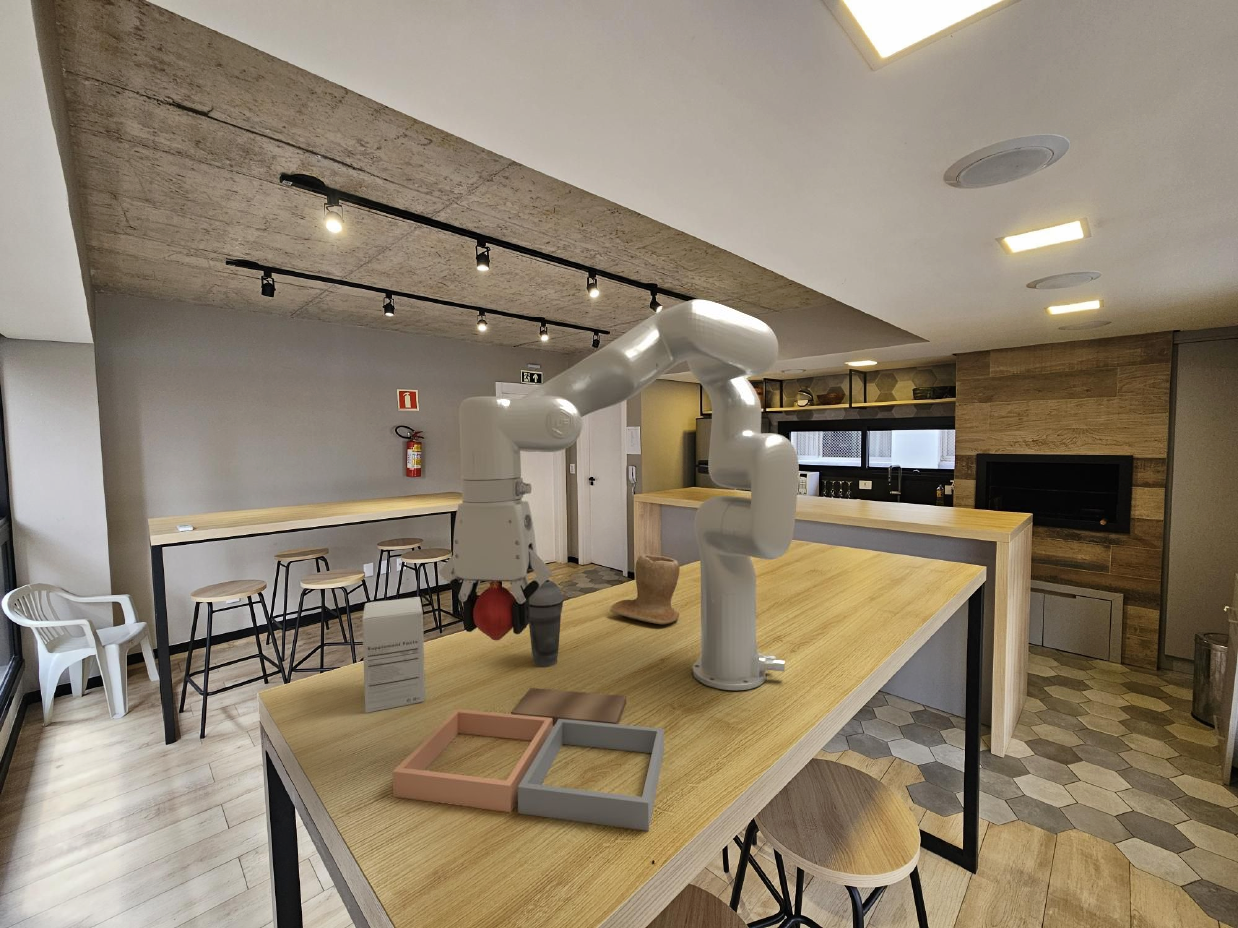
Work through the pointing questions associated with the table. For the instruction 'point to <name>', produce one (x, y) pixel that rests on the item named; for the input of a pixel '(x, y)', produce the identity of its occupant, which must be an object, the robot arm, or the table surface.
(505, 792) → the terracotta crate
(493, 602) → the onion
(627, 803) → the frame
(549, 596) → the beverage cup
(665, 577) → the brown boot-shaped piece
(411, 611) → the supplement box
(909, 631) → the table surface
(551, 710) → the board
